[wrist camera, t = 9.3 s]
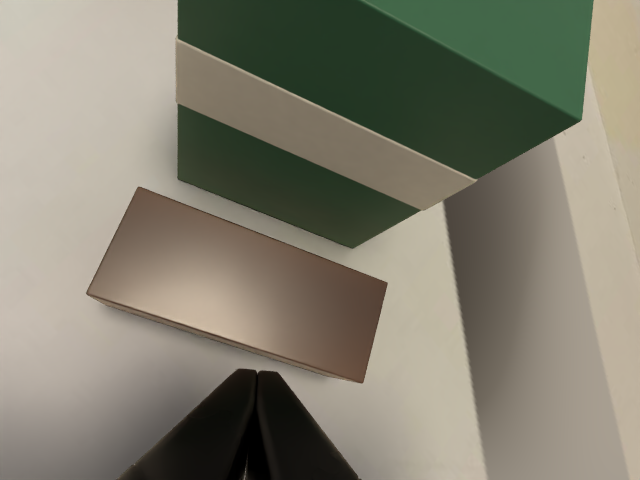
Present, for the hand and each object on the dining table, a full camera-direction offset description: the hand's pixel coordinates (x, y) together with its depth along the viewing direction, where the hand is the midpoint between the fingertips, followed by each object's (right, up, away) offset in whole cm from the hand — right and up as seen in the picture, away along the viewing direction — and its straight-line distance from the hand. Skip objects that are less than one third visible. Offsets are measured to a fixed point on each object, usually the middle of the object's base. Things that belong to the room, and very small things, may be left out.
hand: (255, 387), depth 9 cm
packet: (-1, +6, +12) cm, 14 cm away
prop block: (-2, 0, +10) cm, 10 cm away
